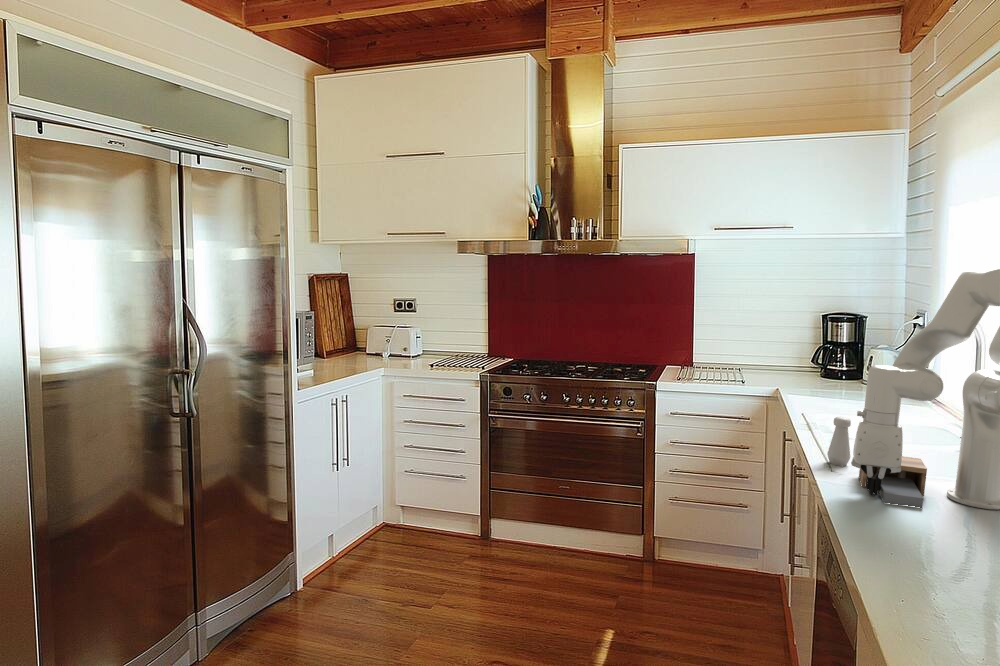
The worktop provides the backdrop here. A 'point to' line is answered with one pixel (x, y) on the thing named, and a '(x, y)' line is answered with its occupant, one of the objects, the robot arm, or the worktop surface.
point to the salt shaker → (840, 442)
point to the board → (900, 492)
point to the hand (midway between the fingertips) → (872, 492)
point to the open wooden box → (904, 472)
